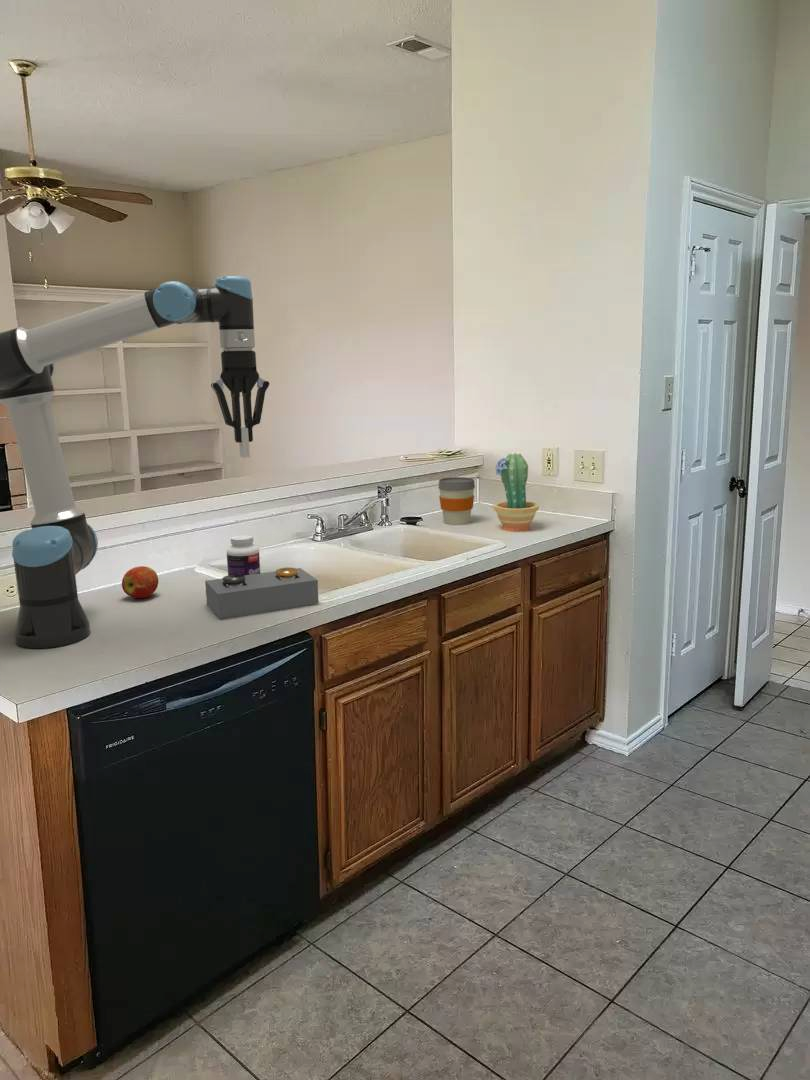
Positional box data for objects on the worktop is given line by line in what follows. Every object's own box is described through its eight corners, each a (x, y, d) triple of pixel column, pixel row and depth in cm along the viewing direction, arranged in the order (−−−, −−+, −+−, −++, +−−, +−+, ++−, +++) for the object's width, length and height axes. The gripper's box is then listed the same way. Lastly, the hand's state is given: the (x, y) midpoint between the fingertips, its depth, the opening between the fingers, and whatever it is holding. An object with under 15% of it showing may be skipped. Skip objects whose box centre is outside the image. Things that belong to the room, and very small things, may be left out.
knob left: (227, 612, 197) (225, 581, 196) (222, 606, 202) (220, 576, 200) (249, 609, 199) (247, 578, 198) (243, 603, 204) (241, 573, 202)
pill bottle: (254, 597, 209) (251, 541, 206) (224, 596, 210) (220, 540, 207) (266, 588, 217) (262, 534, 213) (236, 587, 218) (233, 533, 215)
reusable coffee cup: (477, 519, 298) (477, 477, 294) (471, 526, 286) (471, 483, 282) (442, 518, 301) (442, 476, 297) (435, 525, 289) (434, 482, 285)
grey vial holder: (219, 619, 193) (217, 594, 191) (206, 604, 204) (205, 580, 203) (318, 603, 203) (317, 579, 201) (301, 590, 214) (300, 567, 213)
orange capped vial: (281, 604, 203) (279, 574, 201) (275, 598, 207) (273, 569, 206) (301, 601, 205) (300, 571, 203) (295, 595, 209) (293, 566, 208)
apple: (118, 600, 210) (115, 569, 208) (142, 591, 217) (139, 561, 215) (142, 603, 206) (139, 572, 204) (166, 594, 214) (163, 564, 212)
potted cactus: (499, 522, 291) (499, 450, 286) (543, 525, 286) (544, 451, 280) (487, 532, 277) (487, 456, 271) (533, 534, 272) (534, 457, 266)
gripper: (212, 350, 179) (220, 460, 184) (271, 349, 185) (277, 456, 190) (204, 350, 186) (212, 457, 191) (262, 349, 191) (268, 453, 197)
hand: (245, 456), depth 190 cm, fingers closed
